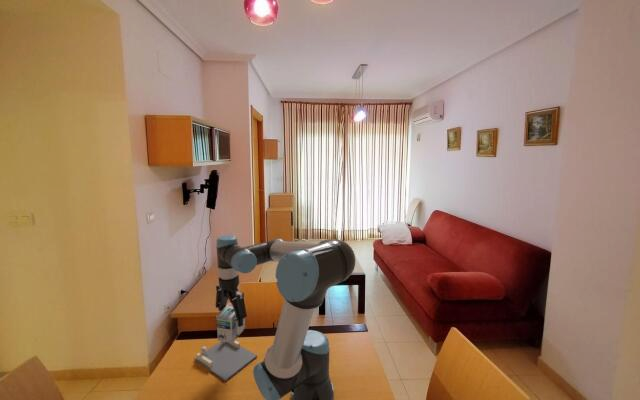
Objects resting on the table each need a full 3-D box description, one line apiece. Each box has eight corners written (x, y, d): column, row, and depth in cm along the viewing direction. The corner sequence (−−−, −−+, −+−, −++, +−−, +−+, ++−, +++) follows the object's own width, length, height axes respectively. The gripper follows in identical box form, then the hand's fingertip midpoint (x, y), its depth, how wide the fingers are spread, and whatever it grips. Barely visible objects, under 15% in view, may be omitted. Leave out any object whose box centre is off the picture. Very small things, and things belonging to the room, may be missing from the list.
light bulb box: (233, 344, 113) (231, 318, 111) (216, 341, 115) (215, 315, 112) (245, 327, 123) (244, 303, 121) (230, 324, 125) (229, 301, 123)
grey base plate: (257, 357, 125) (256, 346, 124) (225, 381, 112) (224, 370, 111) (226, 339, 136) (225, 330, 135) (194, 360, 123) (193, 349, 122)
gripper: (255, 279, 111) (257, 333, 116) (219, 265, 123) (222, 315, 127) (239, 286, 105) (242, 344, 110) (203, 272, 117) (207, 324, 121)
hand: (231, 328), depth 118 cm, fingers closed on light bulb box, 8 cm apart
